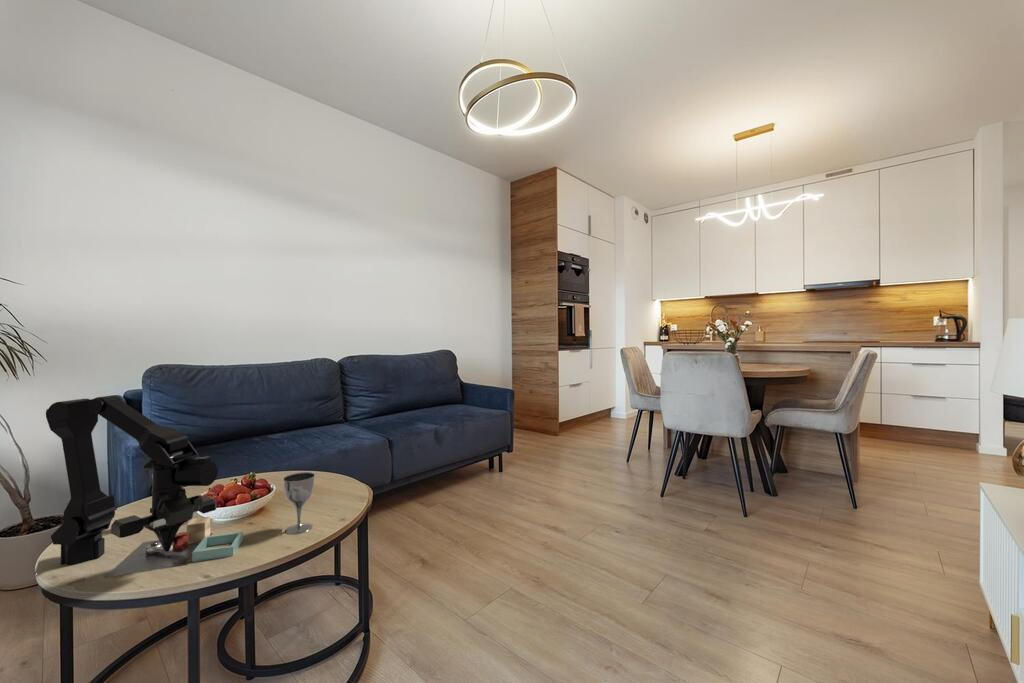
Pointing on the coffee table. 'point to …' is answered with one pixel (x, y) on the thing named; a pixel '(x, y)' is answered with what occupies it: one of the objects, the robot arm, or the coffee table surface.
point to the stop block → (198, 529)
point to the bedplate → (152, 560)
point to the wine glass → (298, 497)
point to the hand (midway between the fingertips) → (166, 551)
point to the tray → (213, 553)
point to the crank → (178, 545)
